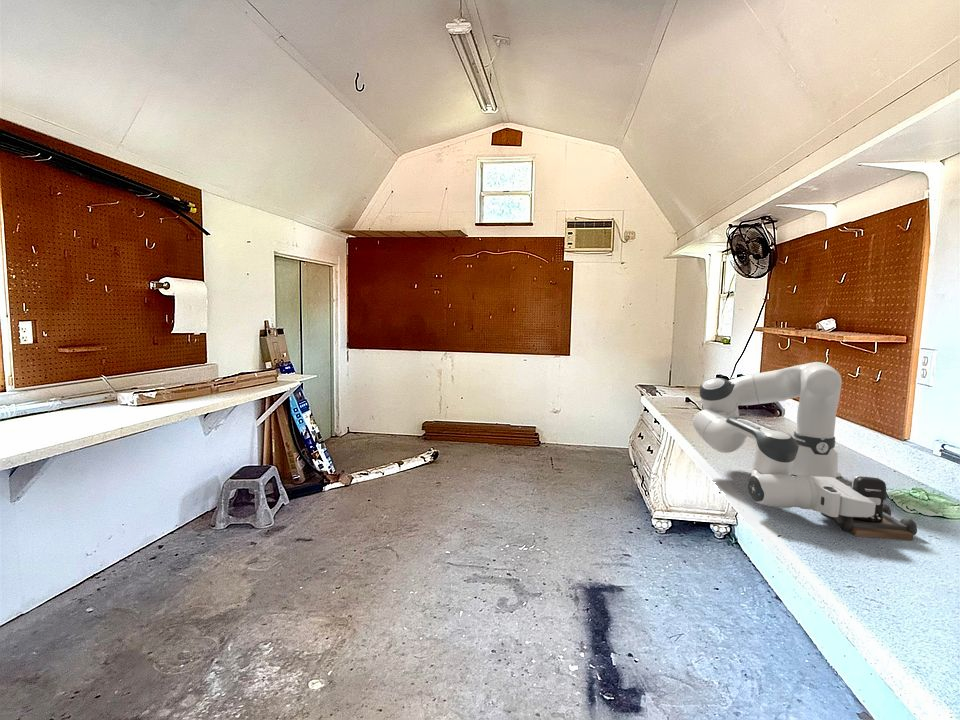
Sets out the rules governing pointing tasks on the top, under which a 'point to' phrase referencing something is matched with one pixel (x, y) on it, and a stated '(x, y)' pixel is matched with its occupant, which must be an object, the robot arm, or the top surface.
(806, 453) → the robot arm
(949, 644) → the top surface
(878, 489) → the battery
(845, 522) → the chassis
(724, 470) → the top surface
